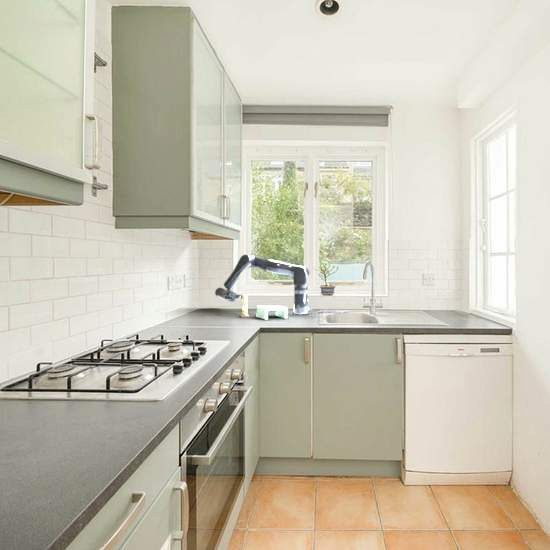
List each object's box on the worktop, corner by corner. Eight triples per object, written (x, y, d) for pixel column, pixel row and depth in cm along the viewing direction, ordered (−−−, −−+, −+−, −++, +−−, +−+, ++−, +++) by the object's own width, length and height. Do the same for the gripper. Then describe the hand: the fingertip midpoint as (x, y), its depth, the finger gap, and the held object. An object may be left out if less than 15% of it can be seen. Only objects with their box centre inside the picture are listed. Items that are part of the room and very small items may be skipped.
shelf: (277, 315, 309) (278, 305, 309) (287, 318, 297) (287, 307, 297) (256, 316, 302) (256, 306, 302) (264, 319, 290) (265, 308, 290)
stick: (246, 315, 308) (246, 294, 307) (249, 316, 303) (250, 295, 302) (239, 315, 305) (239, 294, 305) (242, 316, 301) (242, 295, 300)
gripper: (220, 290, 325) (228, 292, 311) (239, 290, 331) (248, 292, 317) (220, 301, 326) (228, 303, 311) (239, 300, 332) (247, 303, 317)
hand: (238, 298), depth 314 cm, fingers open, 8 cm apart
